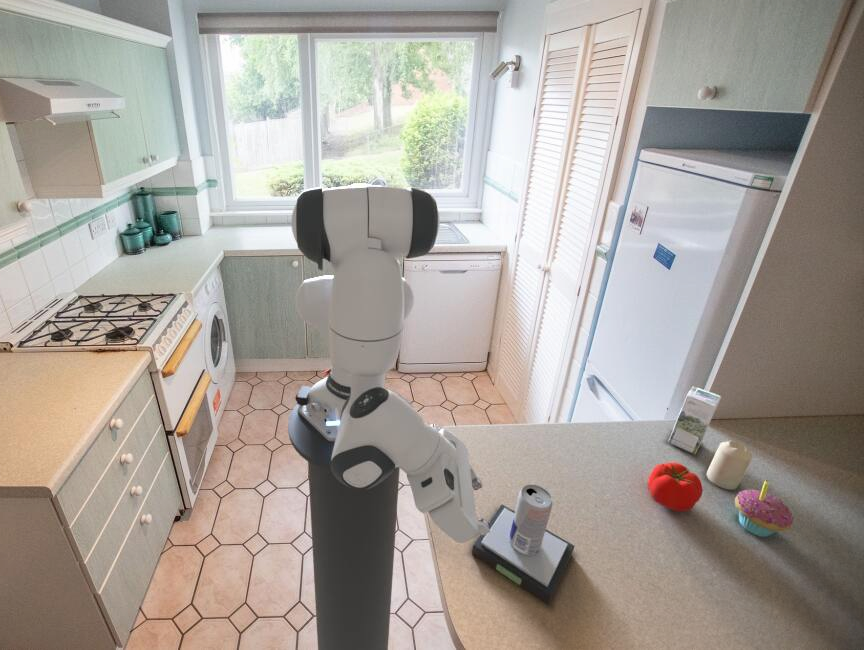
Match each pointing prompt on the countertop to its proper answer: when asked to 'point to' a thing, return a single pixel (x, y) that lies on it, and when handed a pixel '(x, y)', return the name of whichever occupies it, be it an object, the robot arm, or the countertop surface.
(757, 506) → the cupcake
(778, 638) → the countertop surface
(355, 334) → the robot arm
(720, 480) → the candle
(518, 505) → the energy drink
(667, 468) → the tomato
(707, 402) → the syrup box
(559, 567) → the scale
